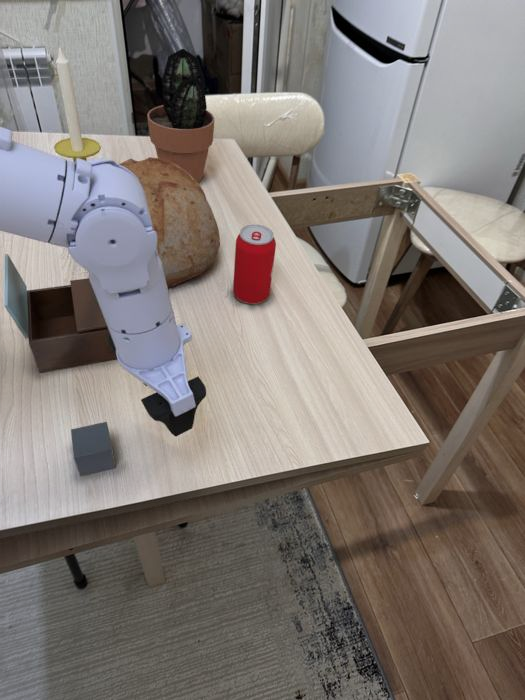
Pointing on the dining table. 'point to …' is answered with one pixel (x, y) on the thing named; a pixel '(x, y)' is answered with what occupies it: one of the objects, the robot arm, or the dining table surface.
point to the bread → (178, 218)
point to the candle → (72, 118)
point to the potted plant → (182, 116)
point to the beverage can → (254, 264)
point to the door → (16, 296)
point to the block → (92, 448)
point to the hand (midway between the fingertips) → (167, 404)
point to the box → (67, 327)
